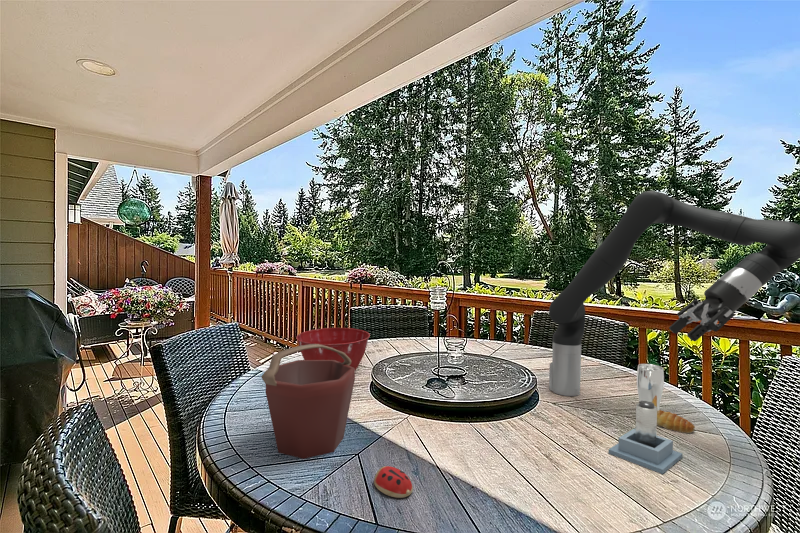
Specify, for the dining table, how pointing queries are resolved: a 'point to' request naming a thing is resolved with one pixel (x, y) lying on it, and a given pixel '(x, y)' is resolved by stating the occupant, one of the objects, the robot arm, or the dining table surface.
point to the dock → (646, 452)
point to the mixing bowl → (335, 344)
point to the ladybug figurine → (393, 482)
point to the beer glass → (650, 383)
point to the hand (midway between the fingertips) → (680, 334)
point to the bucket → (309, 402)
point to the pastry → (674, 422)
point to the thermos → (646, 423)
